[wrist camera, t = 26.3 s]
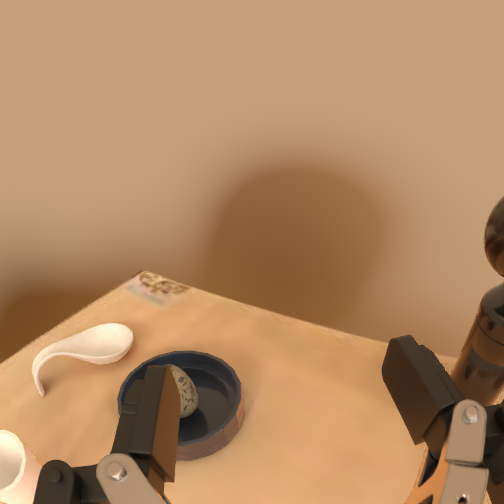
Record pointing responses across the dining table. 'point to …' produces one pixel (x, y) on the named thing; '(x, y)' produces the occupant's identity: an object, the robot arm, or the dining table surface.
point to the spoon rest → (87, 348)
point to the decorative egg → (185, 391)
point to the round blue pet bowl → (201, 401)
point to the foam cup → (17, 470)
